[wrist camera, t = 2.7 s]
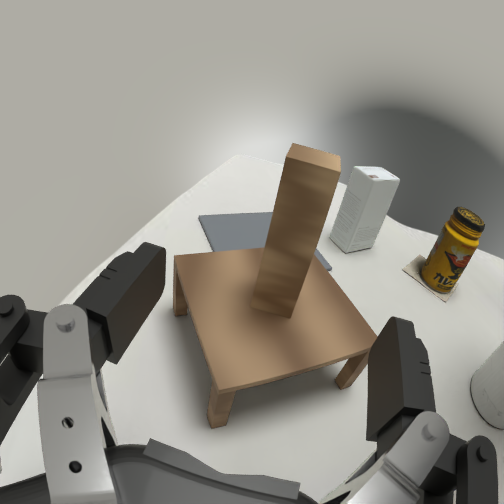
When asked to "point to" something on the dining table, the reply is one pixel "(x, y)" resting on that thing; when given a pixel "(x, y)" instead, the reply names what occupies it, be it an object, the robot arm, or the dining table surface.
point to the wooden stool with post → (274, 295)
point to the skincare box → (363, 208)
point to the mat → (241, 232)
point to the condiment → (448, 254)
